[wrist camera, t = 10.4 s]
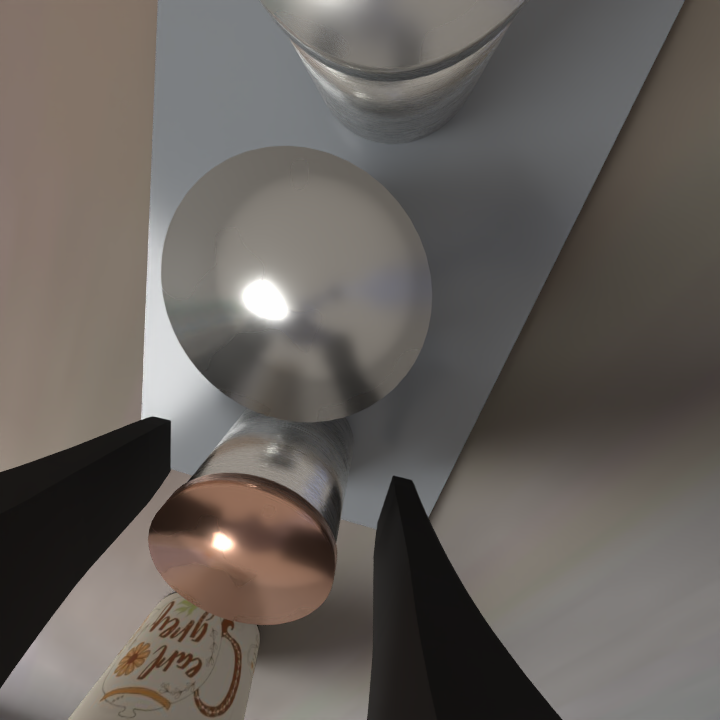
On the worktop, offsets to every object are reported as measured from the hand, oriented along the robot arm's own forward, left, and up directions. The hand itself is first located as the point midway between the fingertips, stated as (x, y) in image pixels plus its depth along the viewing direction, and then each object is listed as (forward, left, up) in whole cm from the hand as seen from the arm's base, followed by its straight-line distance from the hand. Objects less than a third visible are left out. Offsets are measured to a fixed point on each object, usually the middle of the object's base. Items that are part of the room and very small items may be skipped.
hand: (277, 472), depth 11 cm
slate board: (0, -6, -3) cm, 6 cm away
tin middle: (0, -6, -2) cm, 7 cm away
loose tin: (0, 0, -2) cm, 2 cm away
